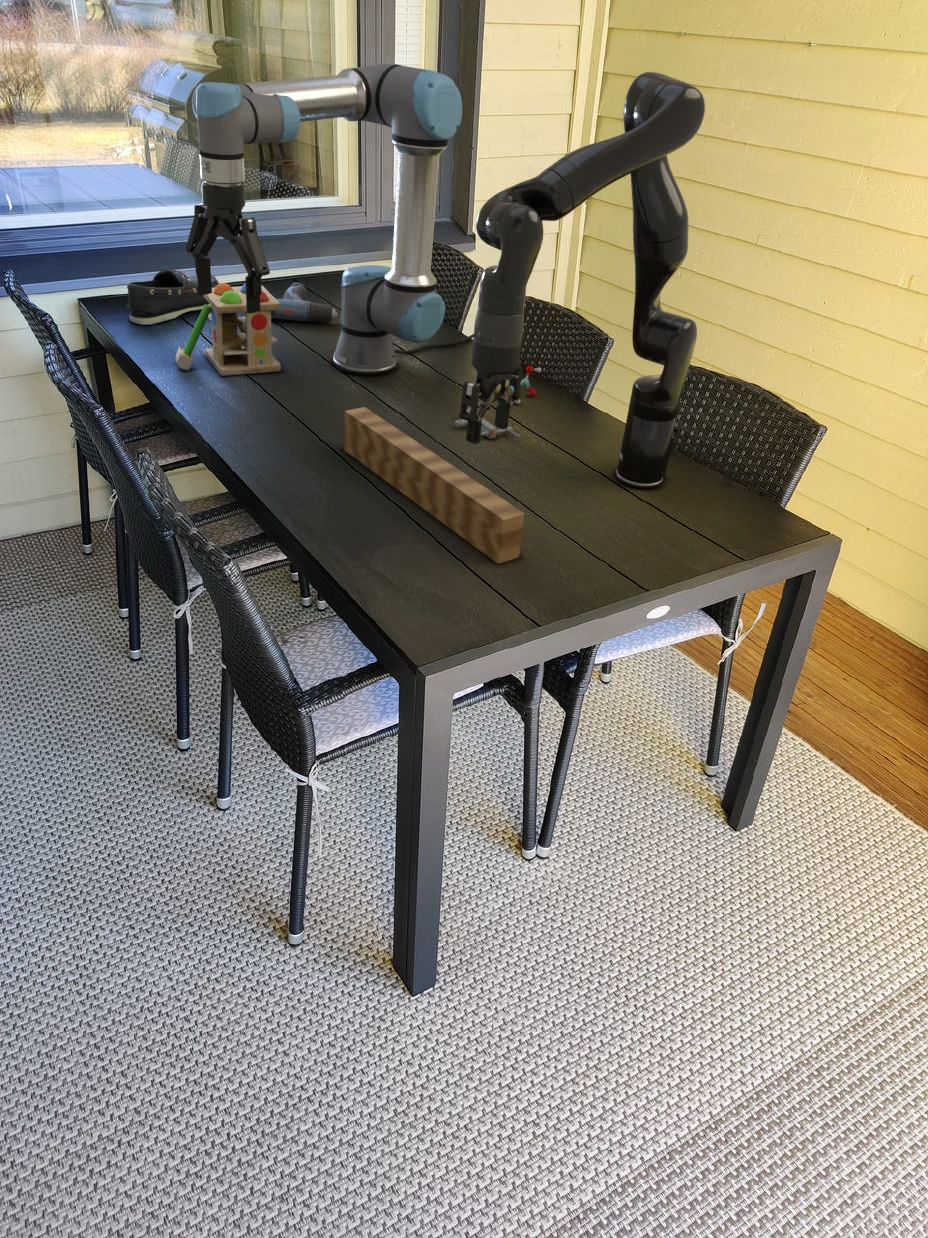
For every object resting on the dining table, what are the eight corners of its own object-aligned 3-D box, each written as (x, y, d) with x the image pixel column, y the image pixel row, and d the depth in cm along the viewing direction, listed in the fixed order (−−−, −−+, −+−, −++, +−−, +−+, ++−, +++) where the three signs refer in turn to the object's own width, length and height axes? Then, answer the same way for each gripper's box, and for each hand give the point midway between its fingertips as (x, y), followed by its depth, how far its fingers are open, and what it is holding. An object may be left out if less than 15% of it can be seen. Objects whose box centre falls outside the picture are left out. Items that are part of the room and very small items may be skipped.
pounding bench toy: (183, 379, 220) (176, 299, 210) (169, 357, 231) (162, 280, 221) (282, 371, 230) (280, 294, 220) (264, 350, 240) (262, 276, 230)
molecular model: (537, 396, 220) (523, 352, 219) (499, 410, 224) (485, 367, 222) (549, 394, 231) (536, 353, 229) (513, 408, 234) (500, 367, 233)
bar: (344, 450, 197) (344, 410, 193) (363, 446, 200) (364, 406, 195) (498, 564, 166) (503, 519, 161) (519, 557, 168) (524, 513, 163)
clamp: (446, 411, 212) (486, 405, 217) (446, 420, 214) (485, 415, 218) (482, 439, 202) (522, 432, 206) (481, 448, 203) (521, 442, 208)
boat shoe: (239, 303, 270) (236, 264, 265) (147, 326, 246) (142, 284, 241) (205, 294, 276) (202, 256, 270) (112, 317, 252) (106, 275, 247)
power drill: (344, 304, 276) (335, 327, 259) (277, 298, 275) (264, 321, 258) (344, 285, 273) (335, 306, 256) (277, 279, 272) (264, 300, 255)
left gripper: (160, 171, 177) (170, 290, 189) (255, 198, 165) (259, 323, 177) (193, 167, 182) (201, 283, 194) (288, 193, 170) (289, 315, 182)
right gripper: (493, 354, 145) (482, 454, 154) (541, 333, 156) (528, 429, 165) (451, 341, 149) (443, 440, 158) (501, 322, 159) (491, 416, 168)
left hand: (229, 302), depth 186 cm, fingers open, 13 cm apart
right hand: (487, 434), depth 161 cm, fingers open, 8 cm apart
